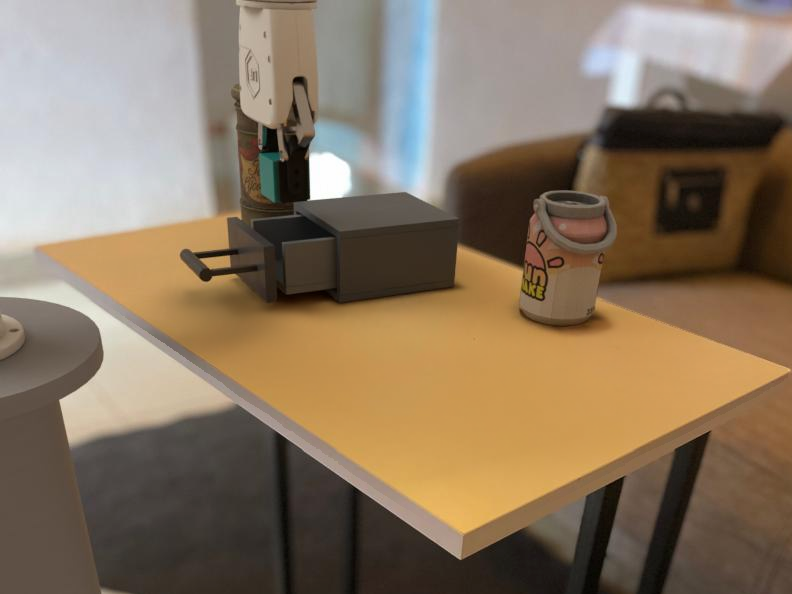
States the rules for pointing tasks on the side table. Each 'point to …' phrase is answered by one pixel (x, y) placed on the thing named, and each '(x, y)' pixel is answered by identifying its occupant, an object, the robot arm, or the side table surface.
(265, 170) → the block
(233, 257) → the tray
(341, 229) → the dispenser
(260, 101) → the robot arm
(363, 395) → the side table surface
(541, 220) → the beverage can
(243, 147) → the container
